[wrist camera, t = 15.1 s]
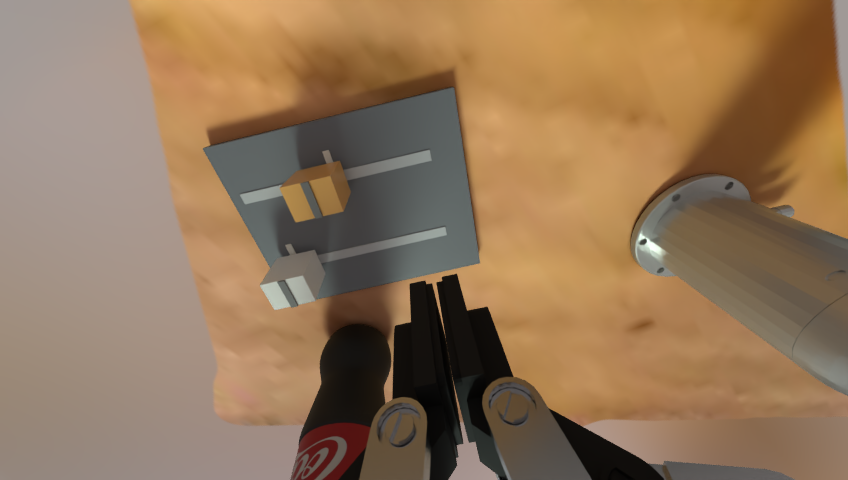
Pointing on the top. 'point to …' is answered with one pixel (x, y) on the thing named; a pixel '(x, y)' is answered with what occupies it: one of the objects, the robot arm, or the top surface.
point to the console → (362, 191)
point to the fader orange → (316, 191)
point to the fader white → (293, 280)
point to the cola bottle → (343, 403)
